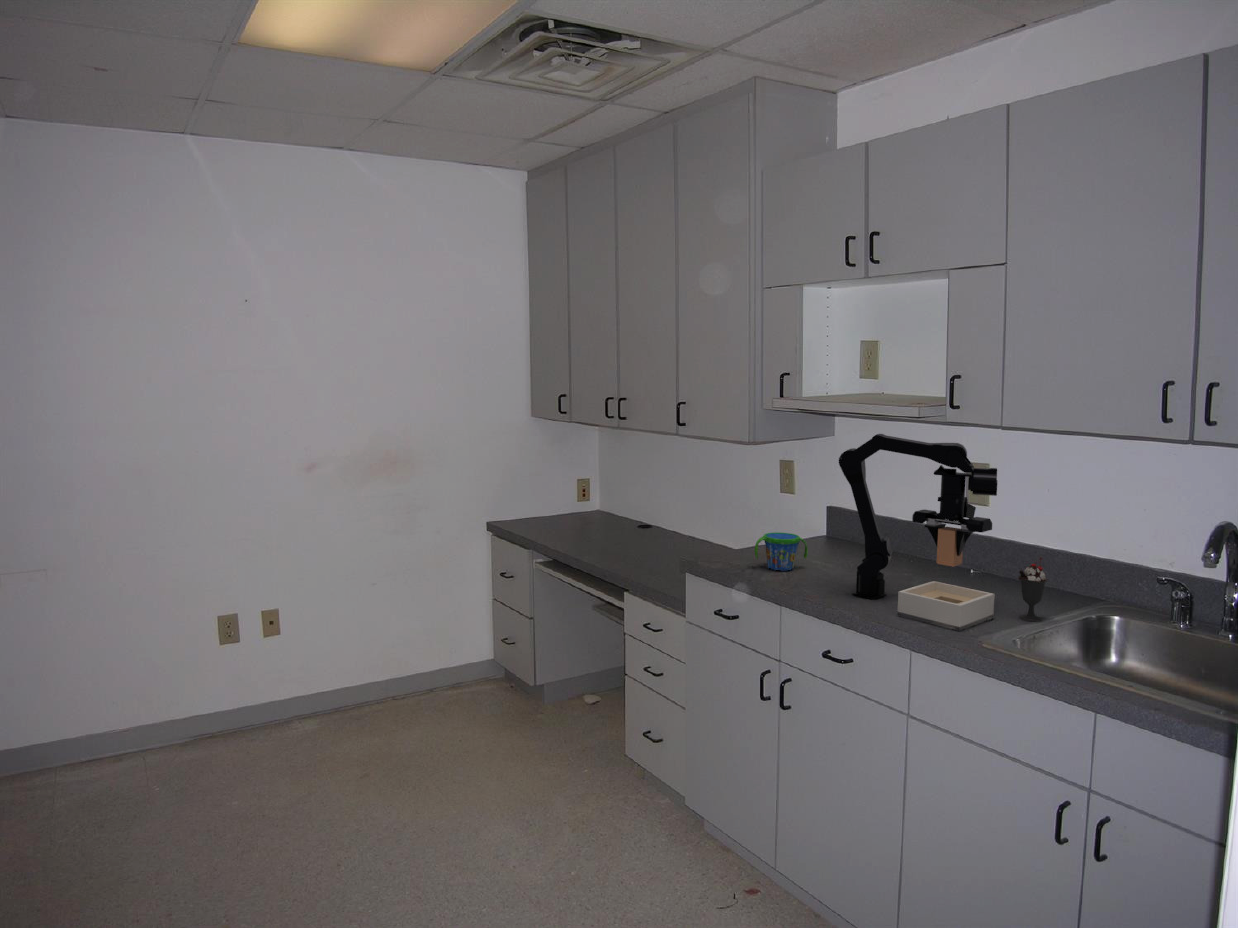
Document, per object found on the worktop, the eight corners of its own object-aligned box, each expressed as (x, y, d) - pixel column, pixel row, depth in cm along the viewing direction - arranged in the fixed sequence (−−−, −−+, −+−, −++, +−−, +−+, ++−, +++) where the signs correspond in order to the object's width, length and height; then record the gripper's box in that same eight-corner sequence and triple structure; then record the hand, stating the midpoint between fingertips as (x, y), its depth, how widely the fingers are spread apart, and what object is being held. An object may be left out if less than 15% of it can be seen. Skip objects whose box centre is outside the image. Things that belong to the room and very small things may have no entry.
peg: (936, 563, 221) (938, 528, 219) (945, 560, 223) (947, 526, 222) (953, 566, 217) (955, 531, 216) (962, 564, 220) (963, 529, 219)
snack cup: (804, 565, 263) (805, 532, 262) (809, 573, 252) (810, 539, 251) (752, 564, 264) (753, 531, 263) (755, 572, 254) (756, 538, 252)
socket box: (897, 615, 211) (898, 591, 210) (932, 604, 221) (933, 581, 221) (959, 631, 199) (960, 605, 198) (993, 618, 209) (994, 594, 208)
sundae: (1049, 618, 209) (1053, 557, 207) (1041, 624, 204) (1044, 562, 202) (1020, 613, 213) (1024, 553, 212) (1011, 619, 208) (1015, 558, 207)
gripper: (1004, 494, 216) (1000, 555, 218) (934, 486, 230) (931, 543, 232) (983, 499, 209) (979, 562, 211) (912, 490, 223) (909, 549, 225)
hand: (949, 554), depth 220 cm, fingers closed on peg, 4 cm apart
